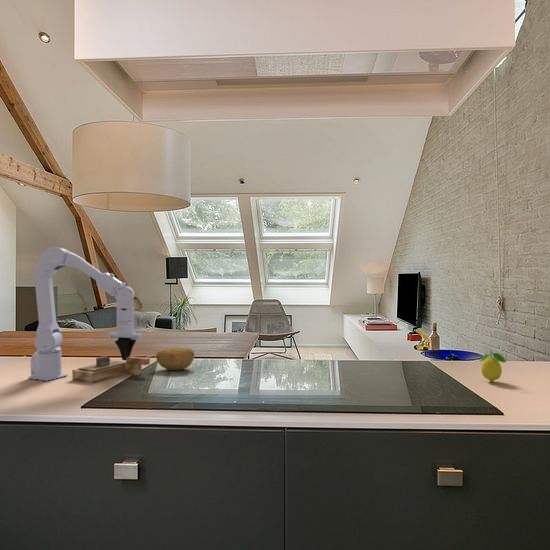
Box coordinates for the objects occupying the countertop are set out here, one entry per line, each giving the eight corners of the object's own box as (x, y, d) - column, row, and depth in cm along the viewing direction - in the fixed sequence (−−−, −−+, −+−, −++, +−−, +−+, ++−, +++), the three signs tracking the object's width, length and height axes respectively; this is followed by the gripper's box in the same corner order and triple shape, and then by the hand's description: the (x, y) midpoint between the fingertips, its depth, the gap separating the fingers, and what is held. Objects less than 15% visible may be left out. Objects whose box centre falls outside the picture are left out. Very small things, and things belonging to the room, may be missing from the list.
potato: (163, 366, 154) (162, 345, 154) (198, 367, 152) (198, 345, 152) (150, 372, 144) (150, 349, 144) (188, 373, 142) (188, 350, 142)
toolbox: (72, 379, 135) (72, 368, 135) (111, 369, 149) (111, 359, 149) (106, 384, 128) (106, 372, 128) (143, 373, 143) (143, 362, 143)
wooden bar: (126, 362, 142) (125, 357, 142) (129, 362, 144) (129, 356, 144) (145, 365, 138) (145, 359, 138) (149, 364, 140) (149, 358, 140)
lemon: (506, 385, 122) (505, 351, 122) (485, 384, 124) (484, 351, 124) (499, 379, 129) (498, 347, 129) (478, 378, 130) (478, 347, 130)
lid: (78, 370, 136) (78, 360, 136) (110, 362, 148) (110, 353, 148) (94, 372, 132) (94, 362, 132) (126, 364, 145) (125, 354, 145)
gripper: (149, 320, 144) (149, 359, 144) (119, 319, 150) (119, 356, 150) (134, 322, 138) (135, 363, 138) (103, 321, 144) (103, 359, 144)
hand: (125, 359), depth 144 cm, fingers closed
